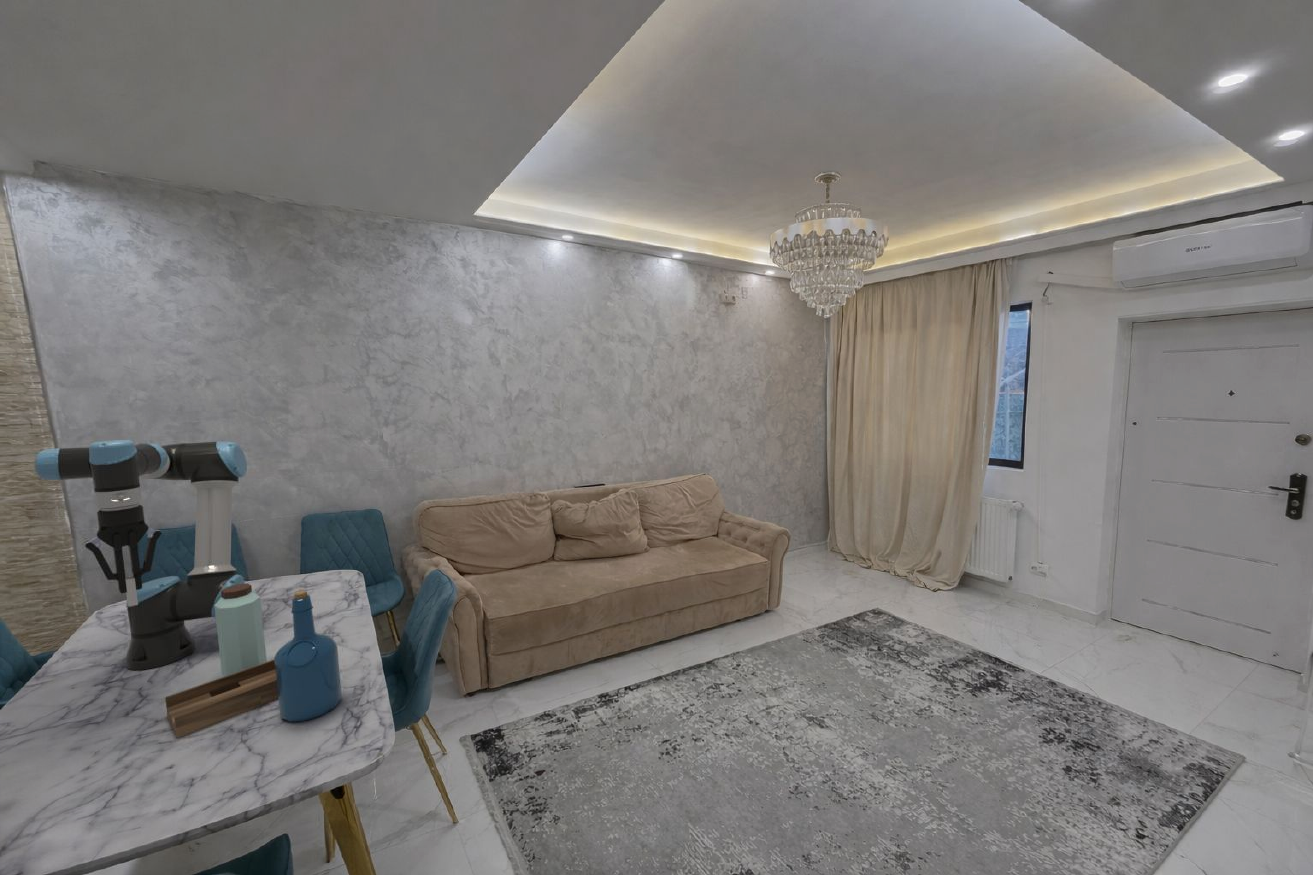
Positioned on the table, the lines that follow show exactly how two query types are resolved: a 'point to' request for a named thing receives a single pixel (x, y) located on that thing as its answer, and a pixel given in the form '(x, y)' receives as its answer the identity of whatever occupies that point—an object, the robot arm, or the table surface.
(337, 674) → the wine bottle
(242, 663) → the water bottle
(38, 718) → the table surface
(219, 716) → the trap box
